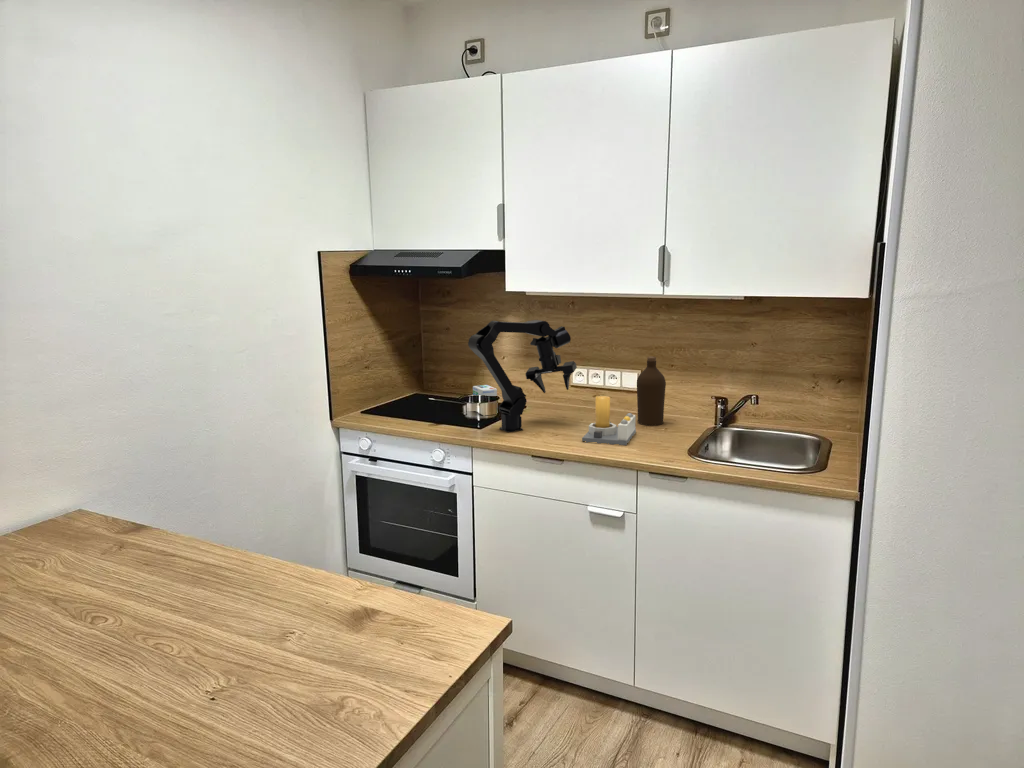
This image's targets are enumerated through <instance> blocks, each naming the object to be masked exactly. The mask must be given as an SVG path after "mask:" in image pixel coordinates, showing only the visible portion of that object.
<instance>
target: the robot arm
mask: <svg viewBox="0 0 1024 768" xmlns="http://www.w3.org/2000/svg"><path fill="white" fill-rule="evenodd" d="M501 333H515V334H516V333H521V334H528V335H532V336H536V337H538V338H536V337H533V338H532V340H531V341H530V343H529V344H530V345H531V346H534V347H536V350H537V353H538V357H539V358H538V362H540V365H541V368H540V367H539V366H532V367H529V368H528V370H526V372H525V379H526V380H530V381H531V382H533V383H535V385H536V386H537V387H539V389H540V390H541V391H542V392H543V394H545V393H546V392H547V391H546V387H545V384H544V382H543V378H542V375H543V374H551V373H558V372H562V377H563V381H564V385H565V389H566V390H567V391H568V390H569V388H570V387H569V386H570V379H571V375H572V374H573V373H574V372H575V371H576V369H577V363H576V362H575V361H574V360H571V361H565V362H564V363H563V365H560V364H561V363H562V360H561V354H557V353H556V352H555V350H554V348H555V349H559V348H562V347H563V346H565V345H567V344H570V342H571V338H572V337H571V335H570V333H569V332H568V330H566V327H565V326H559V327H557V328H555V329H553V328H552V327H551V326H550V323H549V322H548V321H546V320H540V319H533V320H532V319H531V320H527V321H524V322H522V321H520V322H519V321H516V322H515V321H513V322H512V321H499V320H498V321H497V320H491V321H490V322H488V323H487V324H486V326H483V328H480V330H478V331H477V332H476V333H475V334H473V335H471V336H470V337H469V339H468V342H467V345H468V348H469V349H470V350H471V351H472V352H473V353H474V355H476V356H477V358H479V359H481V360H482V362H483V363H484V365H485V366H486V369H488V372H489V373H490V374H491V376H492V377H493V379H494V380H495V383H496V384H497V386H498V387H499V389H500V391H501V397H502V399H503V400H502V402H501V403H500V404H499V405H498V406H497V409H498V410H499V413H501V414H500V415H501V426H500V427H499V430H501V431H503V432H506V433H513V432H514V433H515V432H519V431H523V430H524V428H523V427H522V425H523V424H522V420H523V419H522V415H523V414H524V413H523V412H524V409H525V407H526V404H527V398H526V397H527V394H525V392H524V391H523V388H522V387H521V386H517V385H514V384H513V383H512V381H511V380H510V379H509V376H508V375H507V374H506V372H505V370H504V369H503V367H502V364H500V362H499V361H498V359H497V357H496V356H495V352H494V346H493V344H494V343H495V342H496V340H497V338H498V336H499V334H501Z"/></svg>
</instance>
